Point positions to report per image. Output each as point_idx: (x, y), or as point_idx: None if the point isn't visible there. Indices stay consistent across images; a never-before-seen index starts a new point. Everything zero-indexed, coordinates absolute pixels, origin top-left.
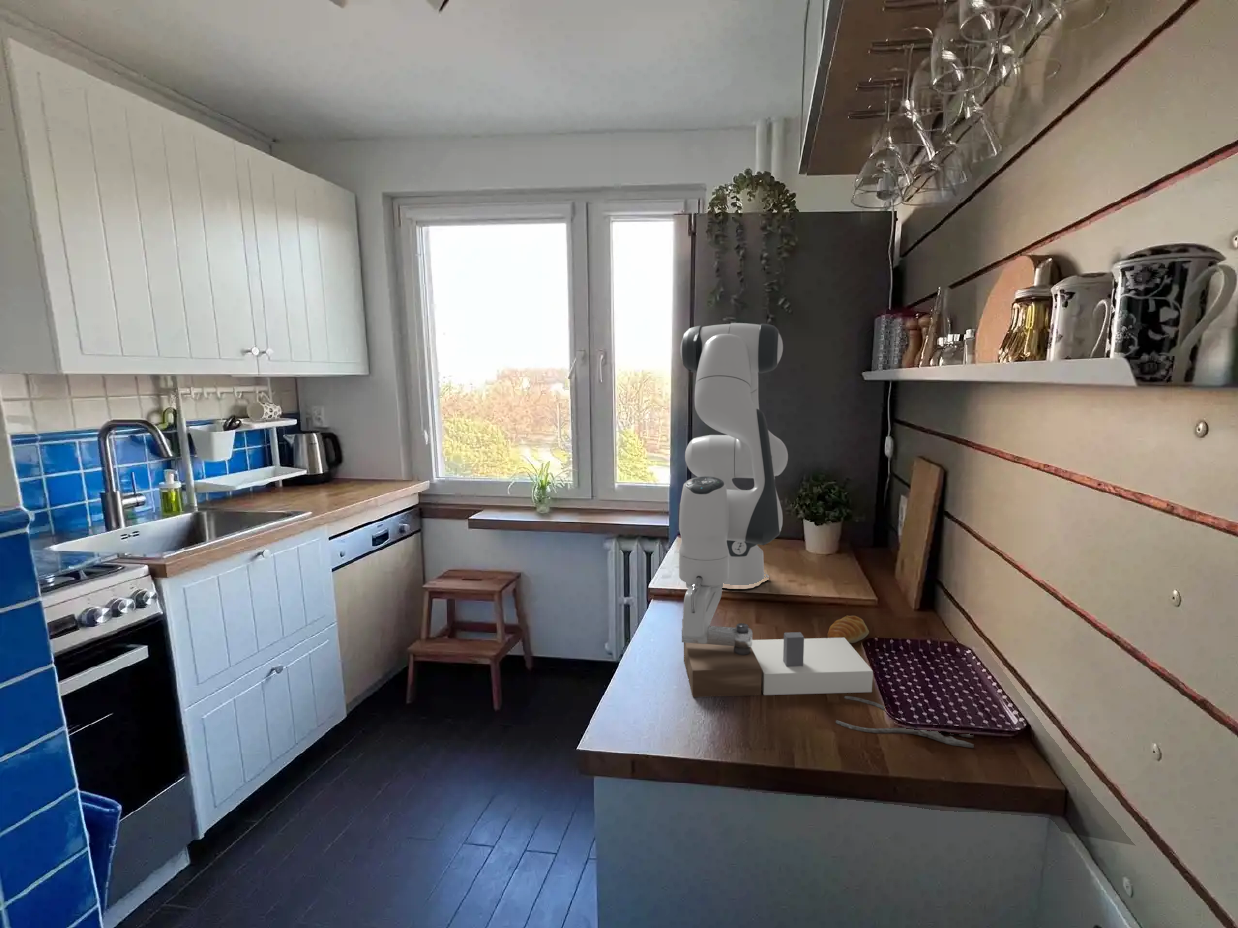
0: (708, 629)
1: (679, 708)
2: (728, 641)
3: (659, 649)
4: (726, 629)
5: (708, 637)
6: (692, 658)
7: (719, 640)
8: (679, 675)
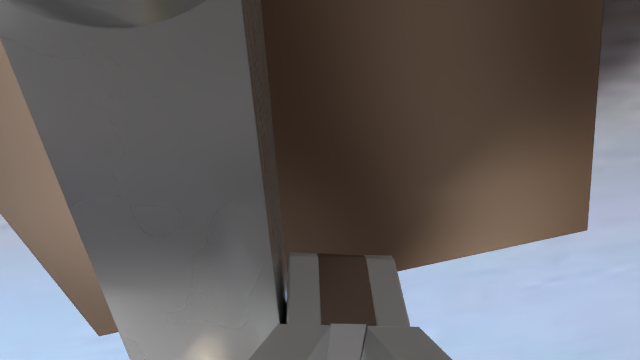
0: (318, 346)
1: (609, 173)
2: (260, 35)
3: (78, 325)
4: (134, 126)
5: (306, 264)
6: (410, 251)
7: (271, 142)
8: None
